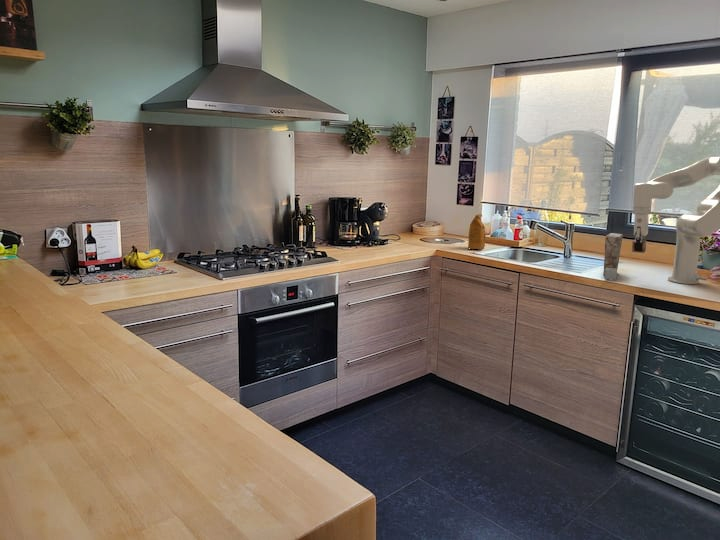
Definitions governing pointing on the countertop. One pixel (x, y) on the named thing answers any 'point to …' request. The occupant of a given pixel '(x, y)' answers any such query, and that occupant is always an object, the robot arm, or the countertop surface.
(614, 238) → the stone block
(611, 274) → the slate grey cube
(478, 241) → the coffee package
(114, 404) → the countertop surface
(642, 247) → the walnut cube
